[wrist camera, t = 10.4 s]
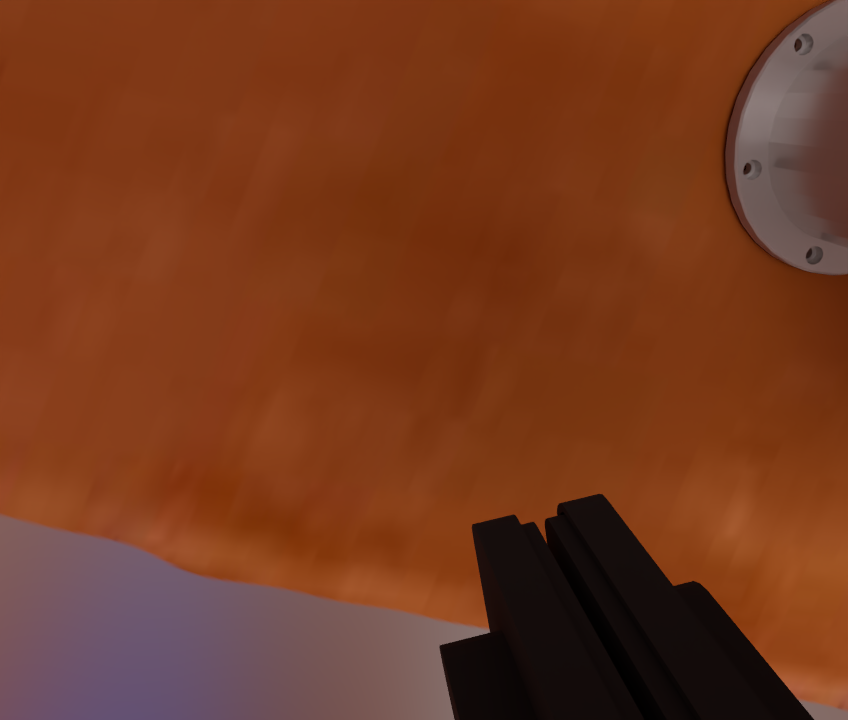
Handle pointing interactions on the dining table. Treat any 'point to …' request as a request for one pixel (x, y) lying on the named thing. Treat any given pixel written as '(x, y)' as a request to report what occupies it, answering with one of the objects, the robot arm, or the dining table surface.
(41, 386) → the dining table surface
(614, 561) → the robot arm
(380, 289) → the dining table surface
